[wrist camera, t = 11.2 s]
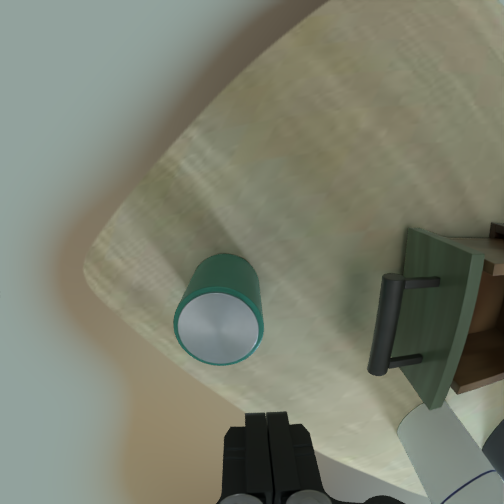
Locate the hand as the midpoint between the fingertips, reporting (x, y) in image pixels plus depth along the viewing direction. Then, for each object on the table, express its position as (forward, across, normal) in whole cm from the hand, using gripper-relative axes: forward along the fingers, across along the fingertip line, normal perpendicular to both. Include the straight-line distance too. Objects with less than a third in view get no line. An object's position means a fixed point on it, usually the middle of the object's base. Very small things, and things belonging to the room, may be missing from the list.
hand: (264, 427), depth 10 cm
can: (+15, +2, 0) cm, 15 cm away
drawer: (+13, -17, +1) cm, 21 cm away
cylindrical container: (+14, -20, +18) cm, 31 cm away
